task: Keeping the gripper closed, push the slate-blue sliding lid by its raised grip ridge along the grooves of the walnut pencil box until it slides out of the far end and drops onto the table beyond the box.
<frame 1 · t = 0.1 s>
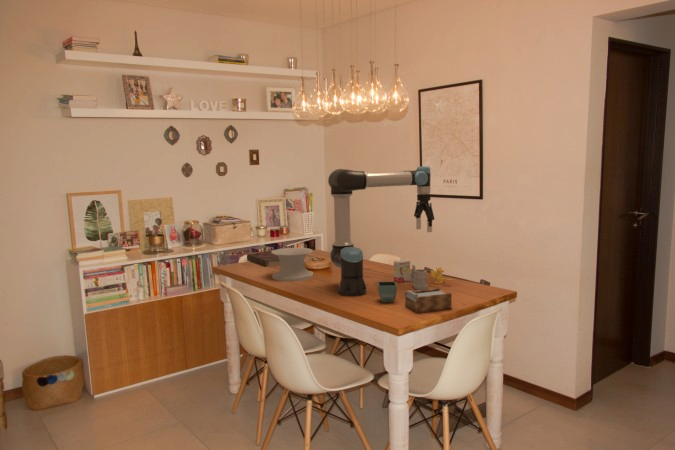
hand: (423, 230, 309), 28 cm above the table, fingers open, 13 cm apart
box: (428, 307, 254), on the table
flower pot: (387, 301, 267), on the table
ink box: (402, 281, 308), on the table
lid: (428, 297, 253), point 5 cm above the table, touching box
grey spool stand: (292, 276, 327), on the table
book: (270, 262, 376), on the table
mug: (418, 288, 292), on the table
figurine: (443, 283, 301), on the table
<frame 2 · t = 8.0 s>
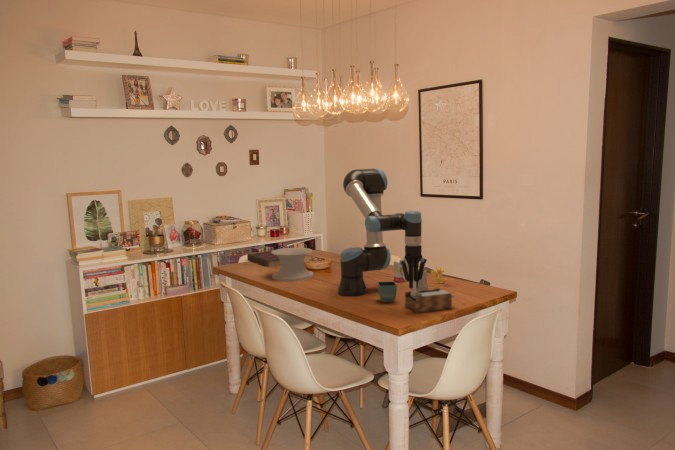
hand: (413, 294, 250), 7 cm above the table, fingers closed
lid: (432, 296, 253), point 5 cm above the table, touching gripper
everything else where it was.
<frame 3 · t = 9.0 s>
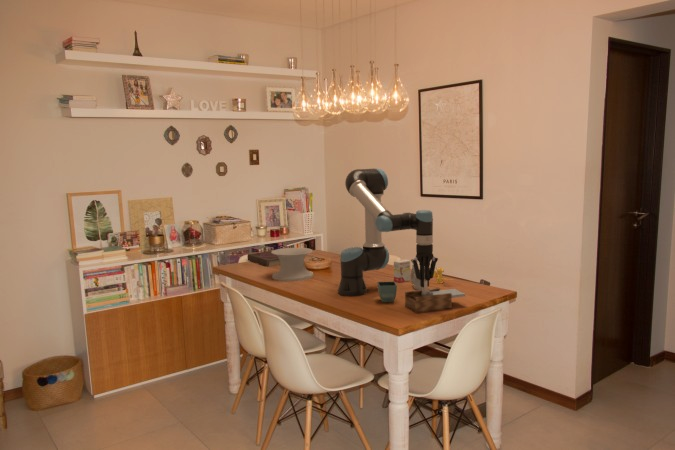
hand: (424, 293, 252), 7 cm above the table, fingers closed
lid: (443, 295, 255), point 5 cm above the table, touching box, gripper
everything else where it was.
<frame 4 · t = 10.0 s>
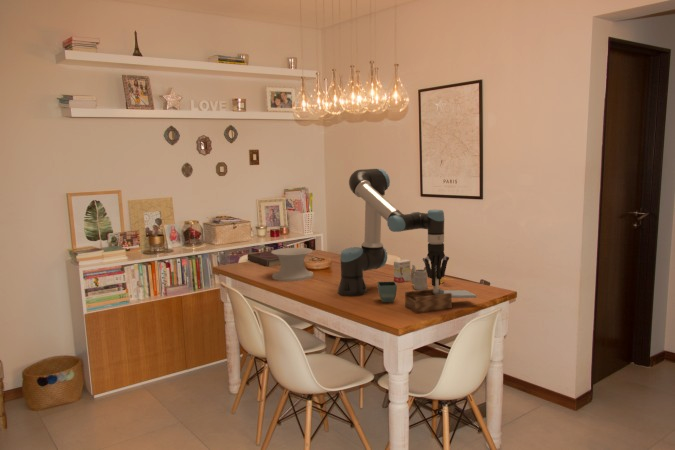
hand: (436, 292, 254), 7 cm above the table, fingers closed
lid: (454, 295, 257), point 5 cm above the table, touching box, gripper
everything else where it was.
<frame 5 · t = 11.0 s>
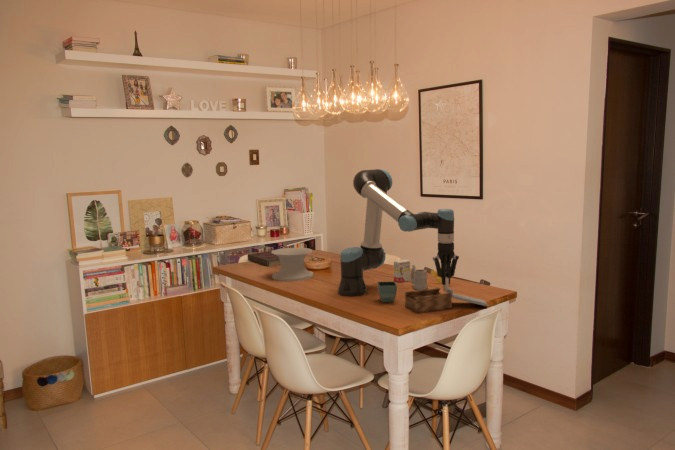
hand: (445, 291, 256), 7 cm above the table, fingers closed
lid: (466, 300, 255), point 3 cm above the table, tilted 15°, touching gripper
everything else where it was.
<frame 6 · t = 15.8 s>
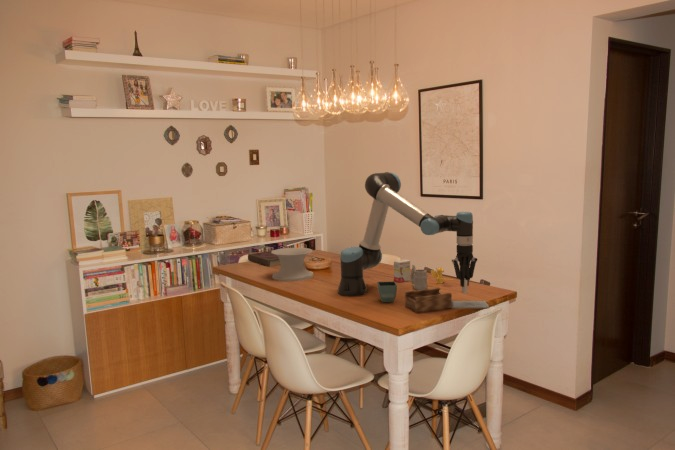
hand: (464, 292, 259), 5 cm above the table, fingers closed
lid: (468, 306, 256), on the table
everything else where it was.
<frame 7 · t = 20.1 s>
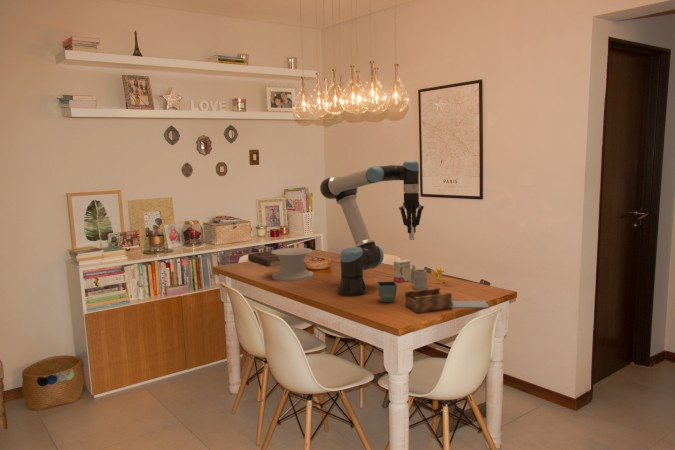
hand: (411, 239, 270), 29 cm above the table, fingers closed
at the end: lid inside the target area (5.4 cm from its centre), on the table; lid touching table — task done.
